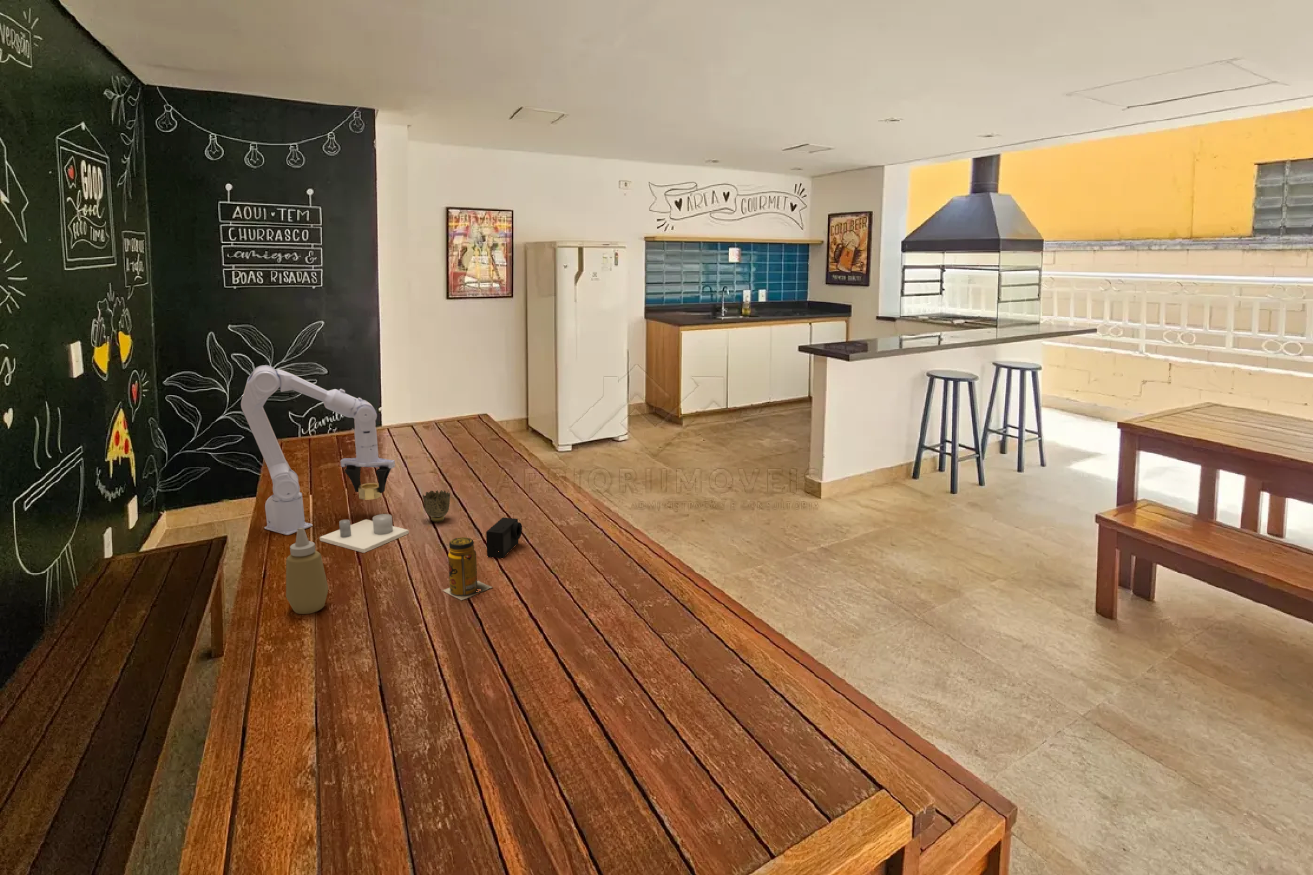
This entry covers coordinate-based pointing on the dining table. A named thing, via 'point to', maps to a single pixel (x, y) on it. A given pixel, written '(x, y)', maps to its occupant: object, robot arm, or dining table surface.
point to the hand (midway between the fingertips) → (370, 491)
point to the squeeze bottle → (305, 576)
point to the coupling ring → (369, 491)
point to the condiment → (463, 569)
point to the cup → (437, 504)
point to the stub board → (365, 533)
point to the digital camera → (503, 537)
